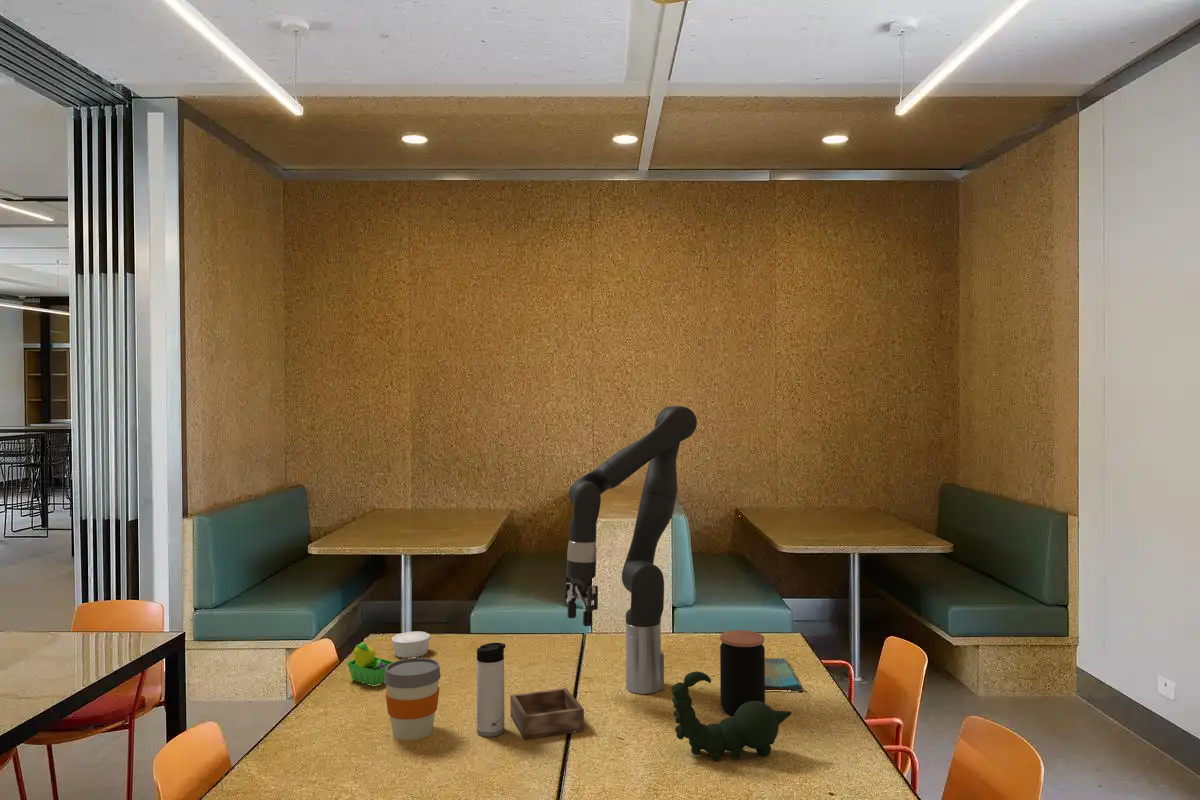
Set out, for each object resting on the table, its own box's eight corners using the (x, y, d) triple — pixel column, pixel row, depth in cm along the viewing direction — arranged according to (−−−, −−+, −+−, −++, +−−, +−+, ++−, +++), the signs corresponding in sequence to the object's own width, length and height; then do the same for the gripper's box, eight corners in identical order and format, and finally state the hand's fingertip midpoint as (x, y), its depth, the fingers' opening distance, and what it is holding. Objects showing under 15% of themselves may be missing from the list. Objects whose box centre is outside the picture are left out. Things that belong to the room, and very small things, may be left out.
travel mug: (500, 738, 173) (500, 649, 173) (472, 736, 174) (472, 647, 174) (509, 727, 179) (509, 640, 179) (482, 724, 180) (482, 639, 180)
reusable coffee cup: (391, 748, 168) (390, 679, 168) (379, 727, 179) (378, 662, 179) (447, 736, 174) (447, 670, 174) (432, 716, 185) (432, 654, 185)
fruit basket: (396, 680, 210) (396, 639, 210) (370, 691, 202) (370, 648, 202) (367, 673, 216) (367, 632, 216) (341, 682, 208) (341, 641, 208)
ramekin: (384, 657, 229) (384, 639, 229) (406, 646, 239) (406, 629, 239) (415, 662, 225) (415, 644, 225) (437, 650, 235) (437, 633, 235)
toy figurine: (681, 773, 159) (801, 761, 159) (672, 682, 160) (792, 670, 160) (676, 753, 169) (789, 741, 169) (667, 666, 169) (781, 655, 169)
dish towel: (736, 693, 200) (736, 684, 200) (726, 663, 223) (726, 654, 223) (803, 695, 199) (803, 685, 199) (786, 664, 222) (786, 655, 222)
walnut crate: (566, 708, 190) (566, 687, 190) (584, 731, 176) (583, 709, 176) (510, 716, 185) (510, 695, 185) (524, 740, 172) (524, 717, 172)
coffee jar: (769, 706, 190) (768, 633, 190) (759, 722, 181) (758, 645, 181) (727, 699, 195) (726, 628, 195) (715, 715, 185) (714, 640, 185)
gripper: (608, 562, 194) (605, 627, 194) (581, 553, 207) (579, 613, 206) (582, 564, 191) (579, 630, 190) (556, 554, 203) (553, 616, 202)
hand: (579, 621), depth 198 cm, fingers open, 8 cm apart
